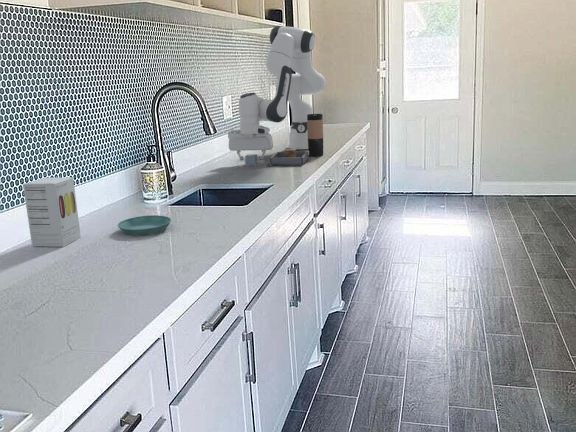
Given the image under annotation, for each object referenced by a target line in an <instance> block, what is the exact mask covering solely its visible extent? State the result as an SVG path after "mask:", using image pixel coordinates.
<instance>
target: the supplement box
mask: <svg viewBox="0 0 576 432" xmlns="http://www.w3.org/2000/svg"><path fill="white" fill-rule="evenodd" d="M22 187H23V194H24V195H23V196H24V201H25V207H26V213H27V222H28V227H29V234H30V240H31V246H32V247H46V248H47V247H48V248H49V247H52V248H53V247H55V248H64V247H65V246H67V245H69V244H71V243H72V242H75V241H77V240H79V239H80V238H82V237H81V229H80V220H79V213H78V204H77V197H76V191H75V181H74V177H70V176H69V177H41V178H38V179H34V180H32V181H29V182H26V183H23V184H22Z"/></svg>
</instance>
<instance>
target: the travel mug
mask: <svg viewBox="0 0 576 432" xmlns="http://www.w3.org/2000/svg"><path fill="white" fill-rule="evenodd" d="M323 117H324V116H323V113H313V114H308V115H307V132H308V149H307V151H308V157H312V158H316V157H323V156H324V121H323V120H324V119H323Z"/></svg>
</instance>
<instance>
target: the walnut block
mask: <svg viewBox="0 0 576 432" xmlns="http://www.w3.org/2000/svg"><path fill="white" fill-rule="evenodd" d="M284 152H285V158H293V157H296V152H297V149H290V148H285V150H284Z"/></svg>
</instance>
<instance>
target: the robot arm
mask: <svg viewBox="0 0 576 432" xmlns="http://www.w3.org/2000/svg"><path fill="white" fill-rule="evenodd" d="M269 34H270V35H269V43H270V44H271V46H270V48H269V50H268V54H267V57H266V62H265V63H266V64H265V66H266V69H267V71H268V72H269V73H270V74H271V75H273V76H275V77H276V79H277V80H276V81H277V82H276V89H275V93H274V94H275V96H274V97H273V98H272V99H267V98H262V97H261V96H258V94H257V93H256V92H246V93H243V94H241V95H240V96H239V100H238V115H239V119H240V120H239V129H236V130H235V129H231V130H230V131H228V132H227V138H228V149H229V151H236V154H237V156H238V157H239V161H244V156H243V155H242V154H241V152H242V151H261V153H262V154H261V155H260V156H259V160H260V161H264V156H265V154H266V151H272V149H273V148H274V142H273V136H272V134H271V133H270V130H271V129H270V128H269V127H266V126H264V125H260V121H264V122H273V123H281V122H283V121H284V120H285V119H286V117H287V115H288V105H289V106H290V109H291V124H290V125H291V130H290V132H289V133H288V145H286V147H285V149H296V150H308V132H307V115H308V114H314V113H313V112H314V111H313V106H312V105H311V103H309V102H308V101H305V100H303V99H302V98H301V96H307V95H308V96H309V95H310V96H311V95H317V94H321V93H323V92H324V91H325V89H326V87H327V80H326V78H325V76H324V75H323V74H321V73H320V72H318V71H317V70H316V69H315V68H314V66H313V63H312V53H311V52H312V50H313V49H314V46H315V42H316V36H315V34H314V33H313V31H311V30H309V29H303V28H302V27H301V28H299V27H294V26H285V25H284V26H283V25H275V26H274V27H273V28H272V29H271V31H270V33H269ZM292 71H293V72H295V73H293V72H292ZM288 103H289V104H288Z"/></svg>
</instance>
